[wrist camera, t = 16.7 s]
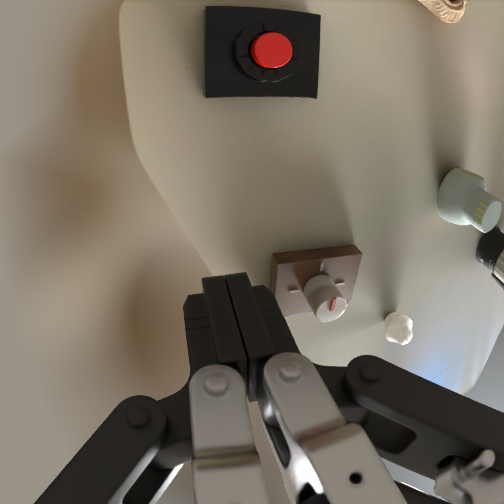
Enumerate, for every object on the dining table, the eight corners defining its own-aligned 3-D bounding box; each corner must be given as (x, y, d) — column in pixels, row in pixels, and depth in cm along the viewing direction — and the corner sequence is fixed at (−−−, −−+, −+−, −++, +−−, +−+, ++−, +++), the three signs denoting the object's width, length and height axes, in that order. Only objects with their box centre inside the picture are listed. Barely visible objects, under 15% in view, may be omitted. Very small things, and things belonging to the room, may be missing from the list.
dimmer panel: (268, 307, 49) (273, 319, 47) (272, 253, 43) (277, 264, 41) (342, 295, 51) (349, 305, 49) (354, 244, 46) (363, 254, 44)
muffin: (399, 322, 61) (416, 345, 55) (376, 332, 60) (392, 356, 54) (405, 302, 57) (423, 325, 52) (380, 311, 57) (398, 336, 51)
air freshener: (474, 171, 44) (515, 195, 36) (461, 212, 48) (497, 240, 40) (438, 161, 41) (483, 187, 33) (423, 208, 45) (463, 240, 37)
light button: (250, 67, 26) (254, 66, 25) (250, 33, 24) (255, 31, 23) (285, 68, 27) (291, 68, 26) (286, 35, 25) (293, 33, 24)
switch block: (203, 96, 30) (206, 99, 27) (203, 10, 25) (207, 2, 21) (309, 97, 32) (324, 101, 29) (312, 17, 27) (328, 12, 24)
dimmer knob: (329, 296, 47) (344, 319, 43) (301, 301, 46) (314, 326, 42) (334, 272, 44) (350, 295, 40) (304, 277, 43) (318, 302, 39)
